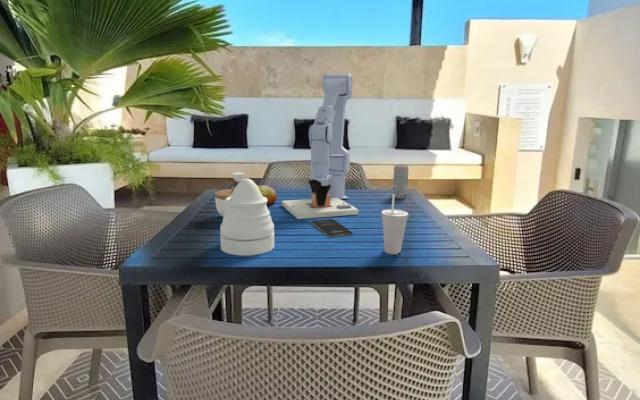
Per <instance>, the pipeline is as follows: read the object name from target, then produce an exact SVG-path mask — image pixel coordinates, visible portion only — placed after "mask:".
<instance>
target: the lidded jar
mask: <svg viewBox="0 0 640 400" xmlns="http://www.w3.org/2000/svg"><path fill="white" fill-rule="evenodd" d="M230 187H231V188H228V189H227V188H225V189H221V190H217V191H215V192H214V198H215V207H216V210H217V212H218V214H220V216H221V217H223V218H224V212H225V211H226V209H227V206H228V205H227V204H226V203H225V199H226V198H228V197H230V196H231V195H232V193H233V191H234V189H235V188H236V186H230ZM223 218H222V219H223Z"/></svg>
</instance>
